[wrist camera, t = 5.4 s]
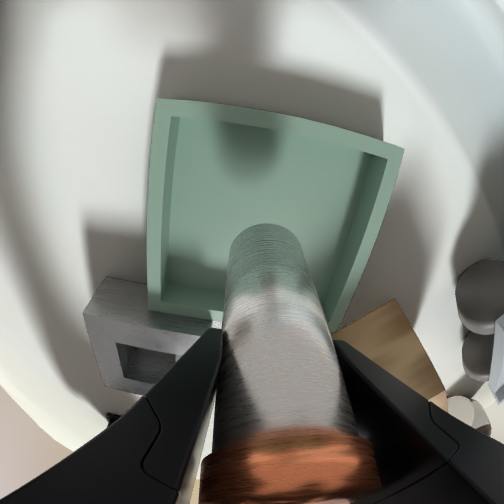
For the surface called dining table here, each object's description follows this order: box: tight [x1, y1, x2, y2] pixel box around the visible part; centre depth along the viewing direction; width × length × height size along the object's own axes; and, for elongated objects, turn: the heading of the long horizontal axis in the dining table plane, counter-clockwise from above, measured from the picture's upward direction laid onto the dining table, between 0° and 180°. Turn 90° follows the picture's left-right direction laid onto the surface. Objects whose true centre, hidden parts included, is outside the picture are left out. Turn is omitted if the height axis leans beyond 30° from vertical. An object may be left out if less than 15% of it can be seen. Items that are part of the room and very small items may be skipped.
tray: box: [147, 98, 404, 333], centre depth 15 cm, size 12×12×2 cm
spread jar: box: [447, 396, 491, 437], centre depth 27 cm, size 12×11×12 cm
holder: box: [83, 277, 213, 396], centre depth 19 cm, size 8×8×4 cm
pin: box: [198, 223, 382, 504], centre depth 8 cm, size 4×4×10 cm
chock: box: [331, 298, 448, 412], centre depth 19 cm, size 12×6×9 cm, turn 125°
